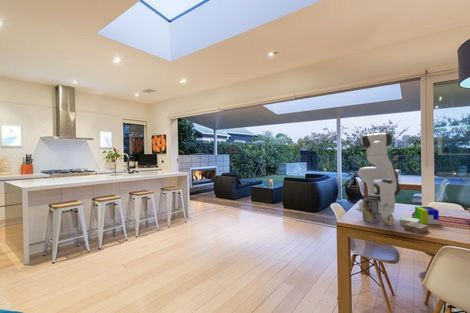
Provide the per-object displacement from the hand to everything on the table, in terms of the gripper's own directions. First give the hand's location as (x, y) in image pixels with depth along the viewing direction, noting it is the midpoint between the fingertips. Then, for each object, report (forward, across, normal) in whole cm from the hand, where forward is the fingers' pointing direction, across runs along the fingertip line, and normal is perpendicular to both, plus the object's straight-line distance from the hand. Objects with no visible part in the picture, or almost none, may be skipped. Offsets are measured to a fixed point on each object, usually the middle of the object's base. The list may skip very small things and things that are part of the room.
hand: (387, 221), depth 171 cm
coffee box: (+3, +2, +12) cm, 12 cm away
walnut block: (+3, -1, -16) cm, 17 cm away
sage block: (+3, +11, -11) cm, 16 cm away
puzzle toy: (+3, +24, -19) cm, 31 cm away
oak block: (+3, 0, 0) cm, 3 cm away
